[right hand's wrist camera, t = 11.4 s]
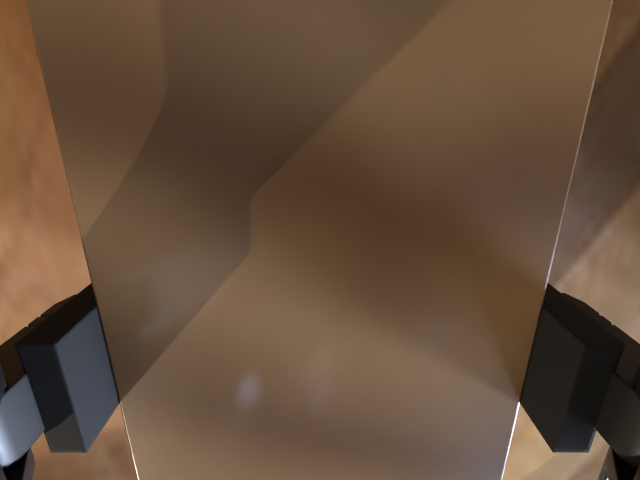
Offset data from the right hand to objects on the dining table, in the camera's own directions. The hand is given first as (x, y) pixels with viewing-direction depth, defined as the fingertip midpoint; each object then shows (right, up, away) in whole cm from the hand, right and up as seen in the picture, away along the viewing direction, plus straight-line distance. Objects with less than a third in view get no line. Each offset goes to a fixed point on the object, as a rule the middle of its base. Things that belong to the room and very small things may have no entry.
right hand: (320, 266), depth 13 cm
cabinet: (0, +6, +3) cm, 6 cm away
